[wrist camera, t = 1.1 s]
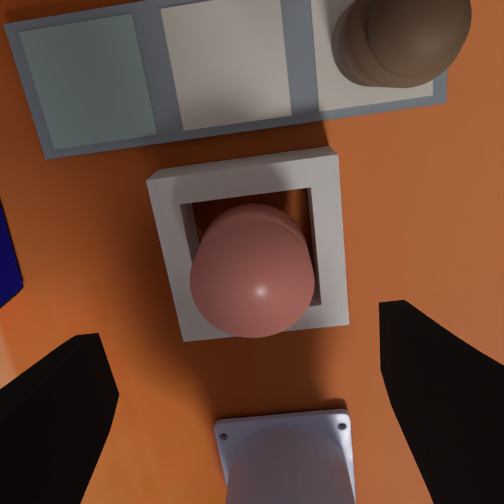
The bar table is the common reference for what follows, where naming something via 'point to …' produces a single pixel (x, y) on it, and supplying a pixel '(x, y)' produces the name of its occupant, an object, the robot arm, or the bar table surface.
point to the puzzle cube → (7, 266)
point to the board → (189, 72)
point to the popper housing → (243, 184)
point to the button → (252, 272)
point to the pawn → (399, 40)
